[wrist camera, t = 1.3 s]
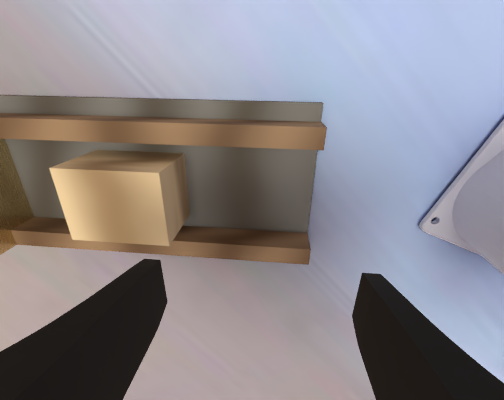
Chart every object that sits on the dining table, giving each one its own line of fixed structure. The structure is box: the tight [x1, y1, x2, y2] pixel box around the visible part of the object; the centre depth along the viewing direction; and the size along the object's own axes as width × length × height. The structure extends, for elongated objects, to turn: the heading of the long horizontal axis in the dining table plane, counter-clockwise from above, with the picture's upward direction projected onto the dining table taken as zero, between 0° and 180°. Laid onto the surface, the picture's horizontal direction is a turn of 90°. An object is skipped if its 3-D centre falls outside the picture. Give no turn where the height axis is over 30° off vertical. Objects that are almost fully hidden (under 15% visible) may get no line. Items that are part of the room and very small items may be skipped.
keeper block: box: [49, 150, 190, 246], centre depth 16 cm, size 6×4×4 cm
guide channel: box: [0, 95, 327, 265], centre depth 17 cm, size 22×11×2 cm, turn 89°
